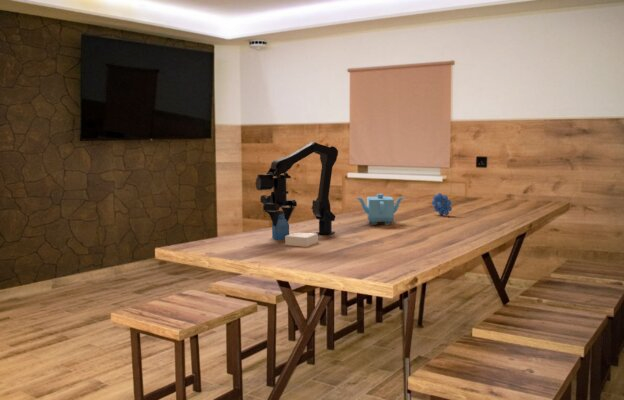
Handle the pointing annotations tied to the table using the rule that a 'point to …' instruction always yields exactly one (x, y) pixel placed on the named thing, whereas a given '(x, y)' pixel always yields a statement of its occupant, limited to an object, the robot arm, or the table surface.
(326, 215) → the robot arm
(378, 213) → the teakettle
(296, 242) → the cream block
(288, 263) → the table surface
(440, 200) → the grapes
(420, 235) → the table surface
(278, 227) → the perfume bottle
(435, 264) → the table surface
